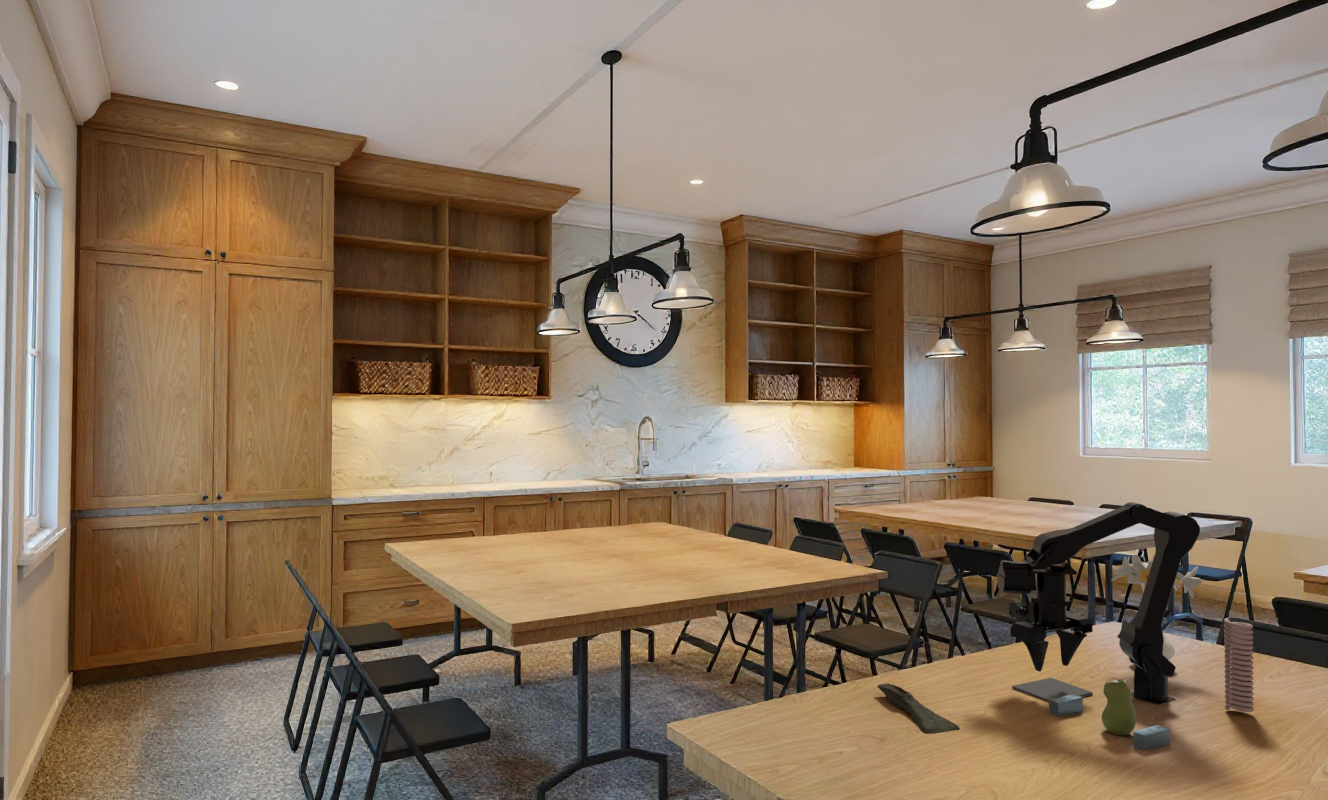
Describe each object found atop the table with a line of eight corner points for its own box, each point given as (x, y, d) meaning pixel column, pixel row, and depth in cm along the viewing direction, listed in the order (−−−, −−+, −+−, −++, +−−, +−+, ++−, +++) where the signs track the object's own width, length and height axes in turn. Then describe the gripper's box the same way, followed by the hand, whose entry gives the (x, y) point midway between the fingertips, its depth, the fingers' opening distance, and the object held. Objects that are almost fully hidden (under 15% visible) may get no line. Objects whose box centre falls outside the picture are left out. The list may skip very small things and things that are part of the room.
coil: (1250, 709, 157) (1249, 618, 157) (1256, 717, 153) (1255, 624, 153) (1222, 705, 159) (1221, 616, 159) (1227, 713, 154) (1226, 621, 155)
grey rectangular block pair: (1073, 709, 157) (1073, 693, 157) (1169, 745, 140) (1169, 728, 140) (1049, 715, 154) (1049, 699, 154) (1144, 753, 137) (1144, 735, 137)
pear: (1123, 742, 141) (1122, 686, 141) (1095, 731, 146) (1094, 677, 146) (1142, 736, 144) (1141, 681, 144) (1114, 726, 148) (1113, 673, 149)
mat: (1050, 680, 174) (1050, 677, 174) (1092, 695, 165) (1092, 692, 165) (1012, 688, 169) (1012, 685, 169) (1053, 704, 160) (1053, 701, 160)
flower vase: (1211, 671, 179) (1210, 561, 180) (1130, 671, 180) (1129, 561, 180) (1175, 653, 192) (1174, 551, 193) (1099, 653, 193) (1098, 551, 193)
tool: (962, 737, 145) (963, 720, 145) (927, 742, 143) (927, 726, 142) (895, 689, 165) (896, 675, 165) (863, 693, 162) (864, 679, 162)
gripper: (1048, 582, 178) (1049, 651, 178) (988, 590, 170) (989, 663, 170) (1093, 592, 168) (1094, 666, 168) (1032, 602, 160) (1033, 679, 160)
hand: (1051, 668), depth 167 cm, fingers open, 8 cm apart
